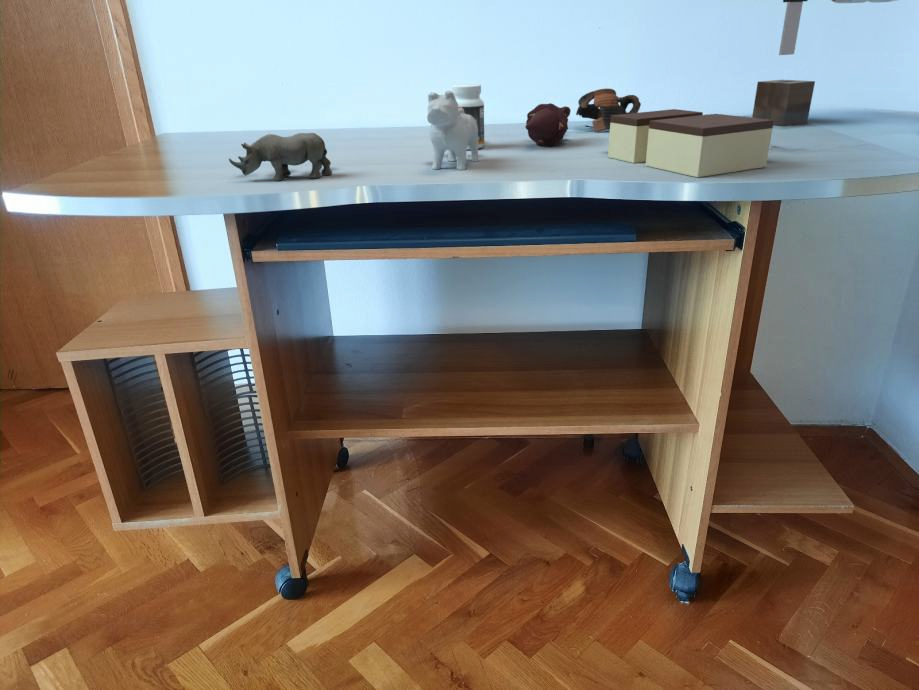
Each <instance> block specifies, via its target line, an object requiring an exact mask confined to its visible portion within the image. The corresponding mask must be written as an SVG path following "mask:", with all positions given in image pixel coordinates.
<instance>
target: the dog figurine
mask: <svg viewBox="0 0 919 690" xmlns="http://www.w3.org/2000/svg"><path fill="white" fill-rule="evenodd" d="M427 101H428V104H427V116H426V119H427V122H428V124H430V128H429V129H430V130H429V138H430V142H431V145H432V147H433V159H432V166H431V168H432V170H441V169H442V164H443V160H444V155H445V153H446V151H448V154H447V155H448V156H447V161H448V162H456V170H459V171H463V170H466V169H467V168H466V164H467V163H466V160H467V150H466V148H467V146H469V147H470V153H471V161H472V162H479V149H478V127H477V123H476V121H475V120H474V118H473V117H472V116H471V115H468V114H465V113H464V109H462V108H460V109H458V103H457V101H456V99H455V96H454V94H453V91H451V90H446V91H445V92H444V94H438V93H437V92H432V91H431V92H429V93H428V95H427Z"/></svg>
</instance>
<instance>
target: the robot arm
mask: <svg viewBox="0 0 919 690" xmlns="http://www.w3.org/2000/svg"><path fill="white" fill-rule="evenodd" d="M830 1H832V2H833V3H835V4H863V3H867V2H869V3H890V2H896V1H898V0H830Z"/></svg>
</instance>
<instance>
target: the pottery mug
mask: <svg viewBox="0 0 919 690" xmlns="http://www.w3.org/2000/svg"><path fill="white" fill-rule="evenodd" d="M591 101H593V103H591ZM577 103H578V107H577V110H576V112H575V115H576V116H579V117H581V118H583V119H590V120H592V121H591V122H592V127H593V131H594V133H597V132H598V133H599V132H601V131H605V130H610V123H611V122H610V120H611V115H620V114H630V113H639V112H640V109H641V104H642V103H641V101H640V98H639V97H638V96H637V95H635V94H628V95H624V96H621V97H619V96H618V95H617V91H616V90H615V89H613V88H600V89H596V90H593V91H589V92H587V93H585V94H583V95H582V96H580V98H579V99H578V102H577ZM630 104H632V107H631V109H630V110H629V111H628V112H627V108H628V106H629V105H630Z"/></svg>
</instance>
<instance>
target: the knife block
mask: <svg viewBox="0 0 919 690" xmlns="http://www.w3.org/2000/svg"><path fill="white" fill-rule="evenodd" d="M815 84H816V81H815V80H797V79H796V80H795V79H772V80H763V81H761V80H760V81H757V84H756V91H755V97H754V103H753V109H752V116H751V118H759V119H768V120H774V123H773V127H783V128H784V127H792V126H801V125H807V124H808V120H809V115H810V110H811V105H812V100H813V99H812V98H813V94H814V89H815Z"/></svg>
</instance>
